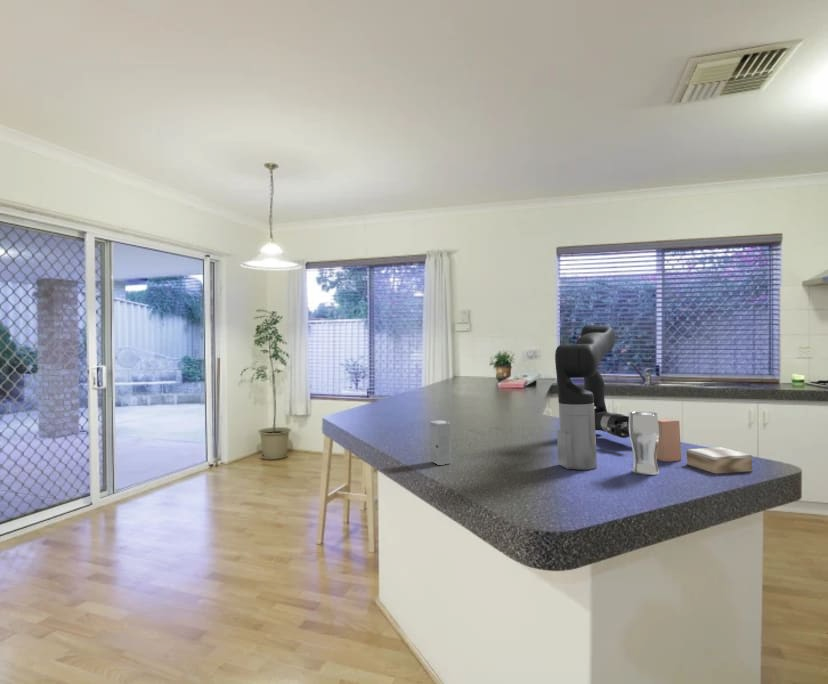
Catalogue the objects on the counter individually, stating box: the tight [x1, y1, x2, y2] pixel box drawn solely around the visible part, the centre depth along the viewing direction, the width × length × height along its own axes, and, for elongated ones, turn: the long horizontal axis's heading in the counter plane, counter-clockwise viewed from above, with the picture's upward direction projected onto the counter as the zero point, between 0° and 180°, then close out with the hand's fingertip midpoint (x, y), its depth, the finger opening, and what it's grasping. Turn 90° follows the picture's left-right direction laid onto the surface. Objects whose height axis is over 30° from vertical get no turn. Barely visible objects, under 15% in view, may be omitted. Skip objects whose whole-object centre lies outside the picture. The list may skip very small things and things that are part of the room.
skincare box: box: [429, 419, 452, 464], centre depth 137 cm, size 6×4×12 cm
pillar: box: [657, 417, 682, 462], centre depth 132 cm, size 5×5×11 cm
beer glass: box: [628, 411, 660, 476], centre depth 119 cm, size 7×7×15 cm
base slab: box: [686, 446, 753, 474], centre depth 121 cm, size 10×10×4 cm
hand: (645, 432), depth 142 cm, fingers open, 8 cm apart
